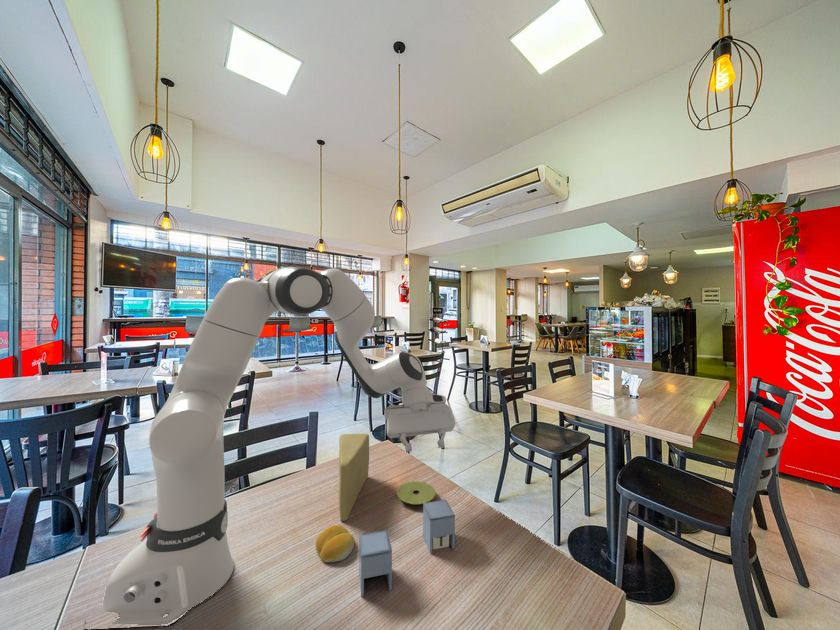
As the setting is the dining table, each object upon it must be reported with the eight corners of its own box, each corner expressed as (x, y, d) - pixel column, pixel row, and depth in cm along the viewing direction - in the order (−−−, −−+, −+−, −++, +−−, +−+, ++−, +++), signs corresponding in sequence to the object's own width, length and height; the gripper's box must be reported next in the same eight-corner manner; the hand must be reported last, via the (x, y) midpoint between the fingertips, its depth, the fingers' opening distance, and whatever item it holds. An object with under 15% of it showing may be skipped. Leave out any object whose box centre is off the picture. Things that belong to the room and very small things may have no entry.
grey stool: (429, 553, 71) (430, 519, 71) (423, 535, 77) (423, 503, 77) (454, 548, 72) (454, 514, 72) (445, 530, 78) (446, 499, 78)
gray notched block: (361, 596, 60) (361, 556, 60) (359, 571, 66) (359, 534, 66) (391, 590, 62) (392, 550, 62) (387, 565, 67) (387, 529, 67)
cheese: (362, 521, 82) (362, 464, 82) (324, 523, 81) (324, 466, 81) (369, 476, 104) (369, 431, 104) (339, 477, 103) (339, 432, 103)
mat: (429, 514, 85) (429, 507, 85) (391, 505, 88) (391, 499, 88) (439, 491, 95) (439, 484, 95) (405, 484, 99) (405, 478, 99)
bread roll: (327, 571, 66) (327, 552, 66) (311, 546, 73) (311, 529, 73) (361, 551, 72) (361, 534, 72) (343, 530, 78) (343, 514, 78)
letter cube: (432, 550, 72) (433, 532, 72) (428, 537, 76) (428, 521, 76) (449, 547, 73) (449, 529, 73) (443, 534, 77) (443, 518, 77)
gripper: (384, 401, 91) (389, 448, 82) (450, 396, 96) (462, 440, 87) (382, 411, 95) (387, 457, 86) (445, 405, 100) (456, 449, 91)
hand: (425, 449), depth 86 cm, fingers open, 8 cm apart
